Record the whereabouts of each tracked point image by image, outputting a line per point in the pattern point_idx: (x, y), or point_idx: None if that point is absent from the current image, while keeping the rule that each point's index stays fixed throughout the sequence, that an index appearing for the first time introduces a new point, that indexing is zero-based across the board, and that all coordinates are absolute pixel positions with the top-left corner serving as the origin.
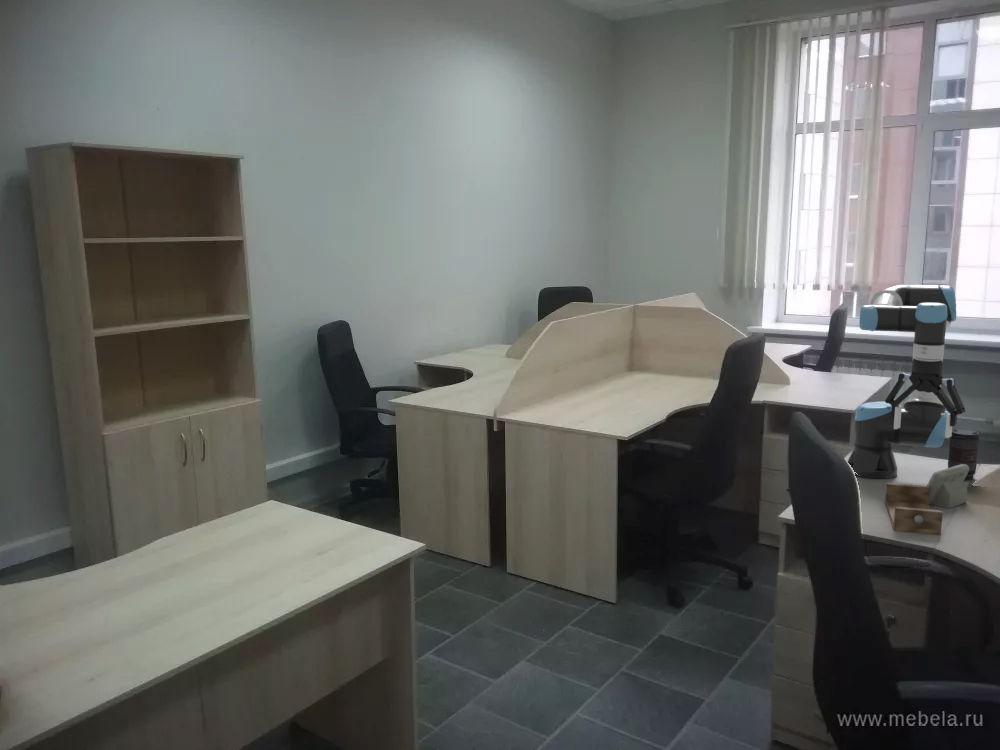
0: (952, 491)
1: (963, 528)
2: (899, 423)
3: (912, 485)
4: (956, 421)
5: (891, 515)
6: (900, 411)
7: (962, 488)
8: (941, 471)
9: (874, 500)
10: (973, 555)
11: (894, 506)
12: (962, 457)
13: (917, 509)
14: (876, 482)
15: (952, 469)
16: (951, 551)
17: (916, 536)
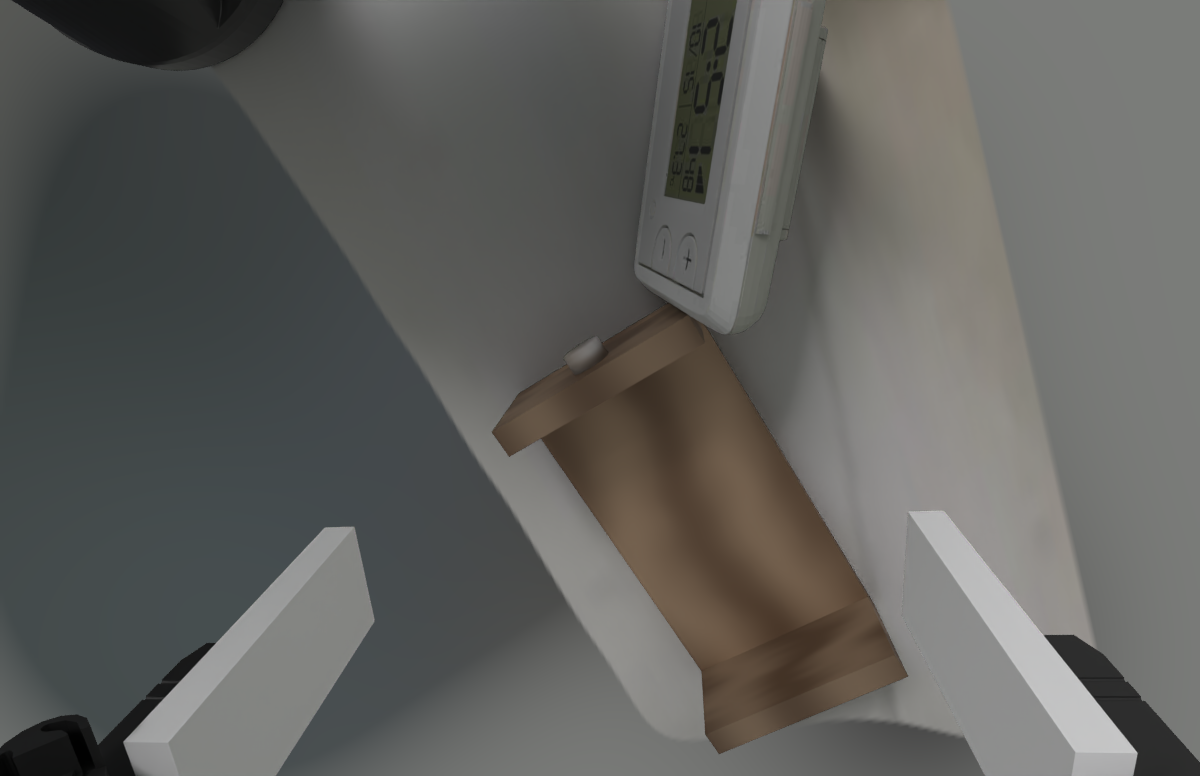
0: (788, 197)
1: (925, 463)
2: (333, 583)
3: (613, 374)
4: (1129, 688)
5: (646, 587)
6: (240, 699)
7: (814, 77)
8: (743, 266)
9: (467, 396)
10: None
11: (598, 471)
12: None
13: (799, 709)
14: (301, 95)
15: (781, 141)
16: None
17: None
